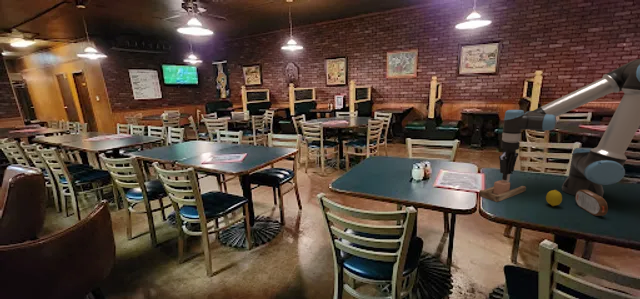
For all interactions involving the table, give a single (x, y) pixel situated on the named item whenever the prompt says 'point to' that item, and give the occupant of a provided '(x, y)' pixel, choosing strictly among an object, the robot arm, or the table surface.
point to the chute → (489, 194)
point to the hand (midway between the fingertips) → (505, 185)
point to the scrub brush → (591, 202)
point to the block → (501, 187)
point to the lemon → (554, 197)
